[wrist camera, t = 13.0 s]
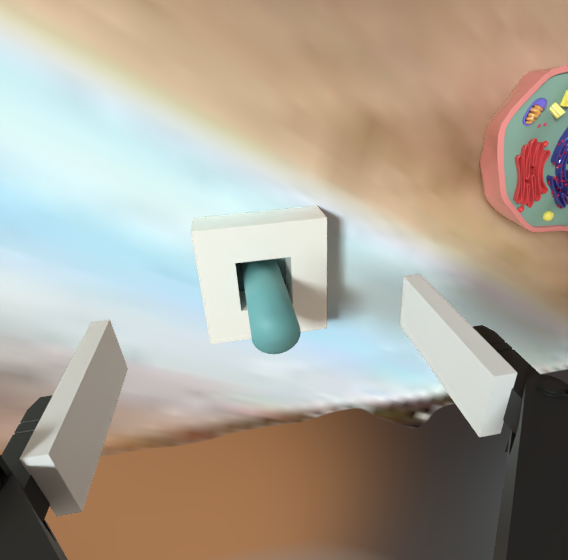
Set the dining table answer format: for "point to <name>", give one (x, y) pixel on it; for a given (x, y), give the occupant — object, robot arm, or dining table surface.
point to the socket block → (254, 247)
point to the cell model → (530, 153)
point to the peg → (269, 307)
